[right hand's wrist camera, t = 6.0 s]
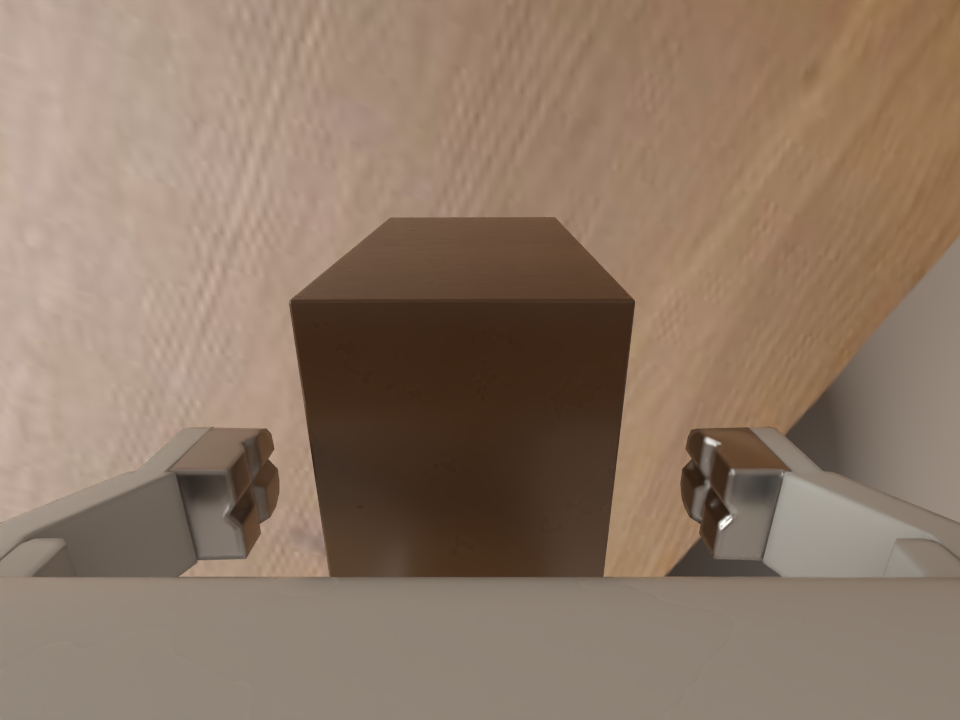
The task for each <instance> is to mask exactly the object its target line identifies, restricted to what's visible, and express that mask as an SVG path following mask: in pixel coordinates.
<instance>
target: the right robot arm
mask: <svg viewBox="0 0 960 720" xmlns="http://www.w3.org/2000/svg"><path fill="white" fill-rule="evenodd" d="M273 450H274V445H273V440H272V435H271V433H270V432H269V431H268V430H267V429H266V428H214V427H195V428H184V429H183V430H182V431H181V432H180V433H178V434H177V435H176V436H175V437H174V438H173V439H172V440H171V441H170V442H169V443H167V444H166V445H165V446H164V447H163V448H162V449H161V450H160V451H159V452H158V453H156V454H155V455H154V456H153V457H152V458H151V459H150V460H149V461H148V462H147V463H145V464H144V465H143V466H142V467H141V468H140V469H139V470H138V471H137V472H126V473H123V474H121V475H118V476H116V477H113V478H111V479H108V480H106V481H103V482H101V483H98V484H96V485H93V486H91V487H88V488H86V489H83V490H81V491H78V492H76V493H73V494H71V495H68V496H66V497H63V498H61V499H58V500H56V501H53V502H51V503H49V504H46V505H44V506H41V507H39V508H36V509H34V510H31V511H29V512H26V513H24V514H21V515H19V516H16V517H14V518H11V519H9V520H6V521H4V522H1V523H0V720H960V523H959V522H956V521H954V520H951V519H949V518H946V517H944V516H941V515H939V514H936V513H934V512H931V511H929V510H926V509H924V508H921V507H919V506H916V505H914V504H911V503H909V502H906V501H904V500H901V499H899V498H896V497H894V496H891V495H889V494H886V493H884V492H881V491H879V490H876V489H874V488H871V487H869V486H866V485H864V484H862V483H859V482H857V481H854V480H852V479H849V478H847V477H844V476H842V475H839V474H837V473H834V472H823V471H822V470H821V469H820V468H819V467H818V466H817V465H816V464H815V463H814V462H812V461H811V460H810V459H809V458H808V457H807V456H806V455H805V454H804V453H803V452H801V451H800V450H799V449H798V448H797V447H796V446H795V445H794V444H793V443H792V442H790V441H789V440H788V439H787V438H786V437H785V436H784V435H783V434H782V433H781V432H780V431H778V430H777V429H775V428H772V427H756V428H748V427H746V428H704V429H693V430H691V432H690V434H689V436H688V439H687V445H686V450H687V452H688V454H689V455H690V457H691V458H692V460H691V461H690V462H689V463H688V464H687V465H686V466H685V467H684V468H683V469H682V476H681V484H680V485H681V496H682V501H683V504H684V507H685V509H686V511H687V513H688V515H689V517H690V518H692V519H694V520H695V521H697V522H698V523H700V524H701V526H700V531H699V534H700V536H701V537H702V539H703V541H704V542H705V544H706V546H707V547H708V549H709V551H710V553H711V554H712V556H713V558H714V559H738V560H763V563H764V564H765V565H767V566H768V567H769V568H771V569H772V570H774V571H775V572H776V573H778V574H779V575H780V576H782V577H179V576H180V575H181V574H183V573H184V572H185V571H187V570H188V569H189V568H191V567H192V566H193V565H195V564H196V563H197V560H222V559H246V558H247V556H248V554H249V553H250V551H251V549H252V548H253V546H254V544H255V542H256V541H257V539H258V537H259V536H260V534H261V531H260V526H259V524H260V523H262V522H263V521H265V520H267V519H268V518H270V517H271V515H272V513H273V511H274V509H275V507H276V504H277V500H278V495H279V475H278V469H277V468H276V467H275V466H274V465H273V464H272V463H271V462H270V461H269V460H268V458H269V457H270V455H271V454H272V452H273Z"/></svg>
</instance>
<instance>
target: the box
mask: <svg viewBox="0 0 960 720" xmlns="http://www.w3.org/2000/svg"><path fill="white" fill-rule="evenodd" d="M289 306H290V312H291V319H292V326H293V333H294V339H295V346H296V353H297V360H298V366H299V373H300V380H301V387H302V393H303V400H304V407H305V414H306V420H307V427H308V434H309V441H310V447H311V454H312V461H313V468H314V474H315V481H316V488H317V495H318V501H319V508H320V515H321V521H322V528H323V535H324V542H325V548H326V555H327V562H328V569H329V575H330V577H603V575H604V566H605V557H606V549H607V540H608V532H609V523H610V514H611V506H612V497H613V489H614V480H615V471H616V463H617V454H618V445H619V437H620V428H621V420H622V411H623V402H624V394H625V385H626V377H627V368H628V359H629V351H630V342H631V333H632V325H633V316H634V308H635V301H634V299H633V298H632V297H631V296H630V295H629V294H628V293H627V292H626V291H625V290H624V289H623V288H622V287H621V286H620V285H619V284H618V283H617V282H616V280H615V279H614V278H613V277H612V276H611V275H610V274H609V273H608V272H607V271H606V270H605V269H604V268H603V267H602V266H601V265H600V264H599V263H598V262H597V261H596V260H595V259H594V258H593V257H592V255H591V254H590V253H589V252H588V251H587V250H586V249H585V248H584V247H583V246H582V245H581V244H580V243H579V242H578V241H577V240H576V239H575V238H574V237H573V236H572V235H571V234H570V233H569V232H568V230H567V229H566V228H565V227H564V226H563V225H562V224H561V223H560V222H559V221H558V220H557V219H556V218H554V217H516V218H389V219H388V220H387V221H386V222H385V223H383V224H382V225H381V226H380V227H378V228H377V229H376V230H375V231H374V232H372V233H371V234H370V235H369V236H368V237H366V238H365V239H364V240H363V241H361V242H360V243H359V244H358V245H357V246H355V247H354V248H353V249H352V250H350V251H349V252H348V253H347V254H346V255H344V256H343V257H342V258H341V259H340V260H338V261H337V262H336V263H335V264H333V265H332V266H331V267H330V268H329V269H327V270H326V271H325V272H324V273H322V274H321V275H320V276H319V277H318V278H316V279H315V280H314V281H313V282H312V283H310V284H309V285H308V286H307V287H305V288H304V289H303V290H302V291H301V292H299V293H298V294H297V295H296V296H294V297H293V298H292V299H291V300H290V302H289Z"/></svg>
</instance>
